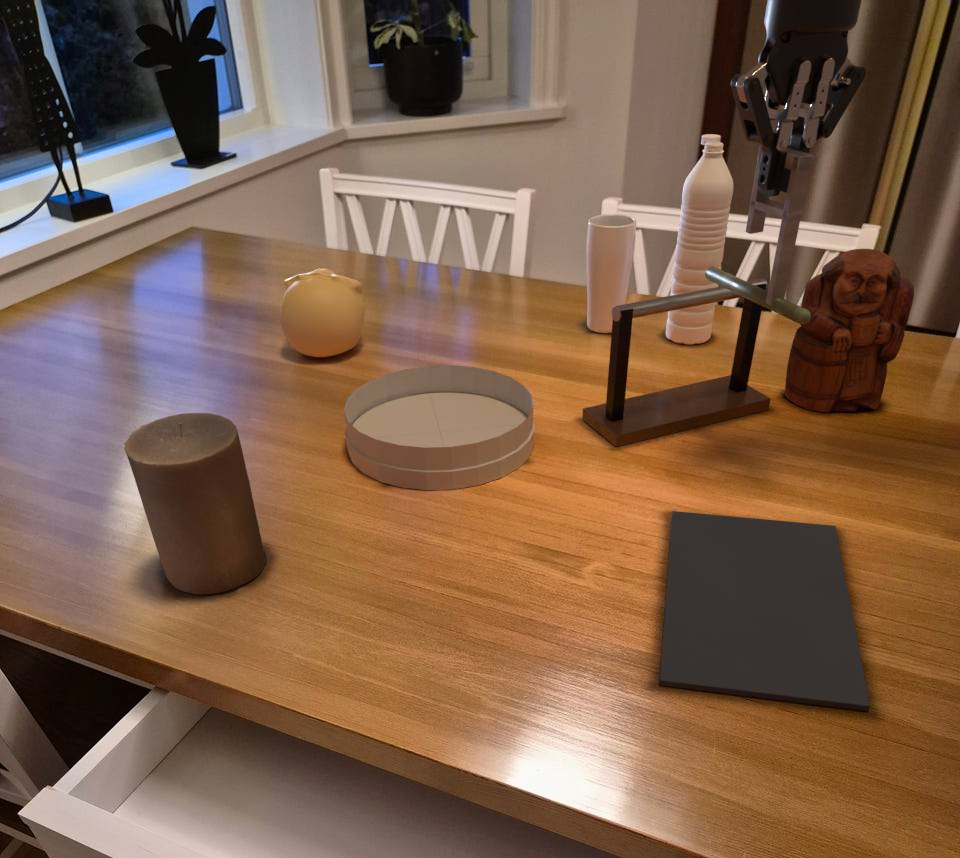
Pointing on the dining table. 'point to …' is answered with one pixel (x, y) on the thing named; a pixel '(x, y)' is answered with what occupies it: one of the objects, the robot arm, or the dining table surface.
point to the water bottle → (700, 240)
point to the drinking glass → (608, 267)
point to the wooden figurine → (849, 332)
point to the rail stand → (684, 403)
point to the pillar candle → (197, 501)
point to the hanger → (786, 240)
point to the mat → (760, 612)
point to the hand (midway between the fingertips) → (778, 192)
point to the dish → (439, 427)
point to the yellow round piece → (322, 313)
